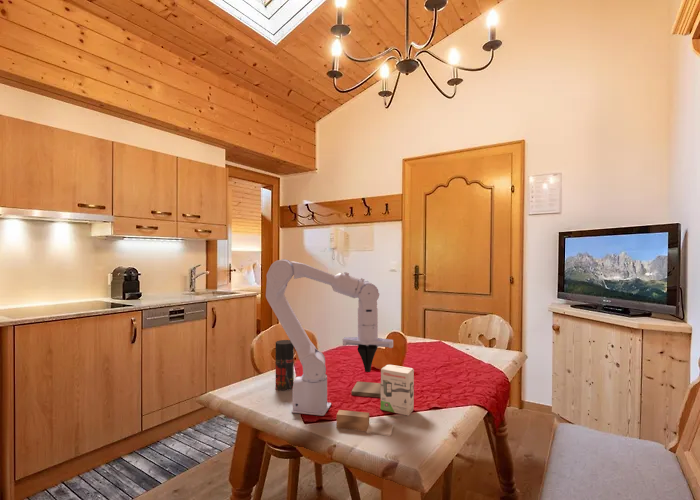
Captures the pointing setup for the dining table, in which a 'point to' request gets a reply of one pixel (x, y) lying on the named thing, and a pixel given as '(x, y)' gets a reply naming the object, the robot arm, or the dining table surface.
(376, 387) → the board
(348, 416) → the blocks
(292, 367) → the deodorant
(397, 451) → the dining table surface
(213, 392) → the dining table surface
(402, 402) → the ink box
